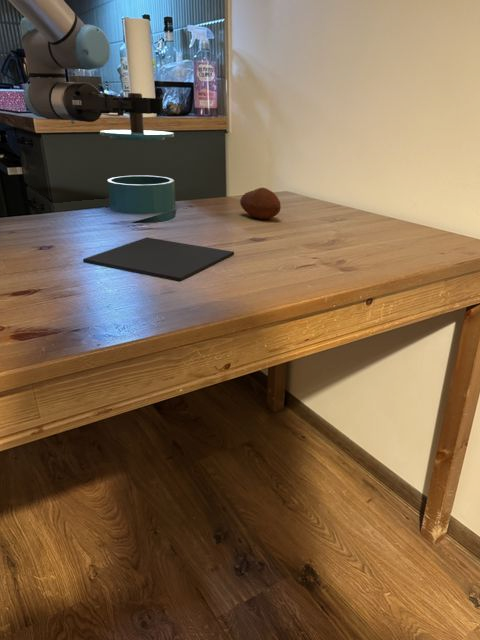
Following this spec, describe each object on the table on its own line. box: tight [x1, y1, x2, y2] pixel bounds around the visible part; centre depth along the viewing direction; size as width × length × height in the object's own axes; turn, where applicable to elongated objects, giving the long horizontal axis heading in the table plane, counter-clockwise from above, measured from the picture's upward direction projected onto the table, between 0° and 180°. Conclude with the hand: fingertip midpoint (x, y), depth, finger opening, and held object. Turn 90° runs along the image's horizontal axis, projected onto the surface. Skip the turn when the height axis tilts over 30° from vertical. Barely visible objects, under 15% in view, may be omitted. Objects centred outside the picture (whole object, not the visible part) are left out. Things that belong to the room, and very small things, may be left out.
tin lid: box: [99, 92, 175, 142], centre depth 99 cm, size 15×15×8 cm
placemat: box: [82, 237, 235, 282], centre depth 80 cm, size 18×16×1 cm
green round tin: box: [106, 175, 177, 224], centre depth 106 cm, size 14×14×8 cm
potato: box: [239, 187, 282, 220], centre depth 109 cm, size 6×12×6 cm, turn 47°
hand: (154, 106), depth 96 cm, fingers closed on tin lid, 3 cm apart
